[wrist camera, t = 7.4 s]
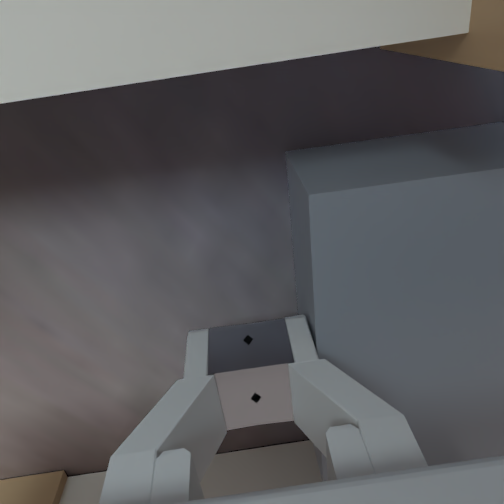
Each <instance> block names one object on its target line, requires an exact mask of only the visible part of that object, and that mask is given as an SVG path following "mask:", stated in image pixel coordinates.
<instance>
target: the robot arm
mask: <svg viewBox="0 0 504 504" xmlns="http://www.w3.org/2000/svg"><path fill="white" fill-rule="evenodd" d="M286 421H294V422H295V424H296V425H297V426H298V427H299V428H300V429H301V430H302V431H303V432H304V434H305V435H306V436H307V437H308V438H309V439H310V440H311V441H312V442H313V444H314V445H315V446H316V447H317V448H318V449H319V450H320V451H321V452H322V454H323V455H324V456H325V457H326V458H327V477H328V481H323V482H316V483H309V484H302V485H295V486H288V487H281V488H275V489H268V490H261V491H254V492H247V493H240V494H233V495H226V496H220V497H213V498H206V499H205V498H204V495H203V492H202V488H201V485H200V482H201V480H202V478H203V476H204V475H205V473H206V471H207V469H208V467H209V465H210V463H211V462H212V460H213V458H214V456H215V454H216V452H217V450H218V448H219V447H220V445H221V443H222V441H223V439H224V437H225V435H226V434H227V430H232V429H237V428H243V427H249V426H255V425H261V424H269V423H278V422H286ZM99 504H504V455H501V456H494V457H487V458H480V459H473V460H466V461H460V462H453V463H446V464H439V465H432V466H428V465H427V462H426V460H425V458H424V456H423V454H422V452H421V450H420V448H419V446H418V443H417V441H416V439H415V437H414V435H413V433H412V431H411V429H410V427H409V425H408V422H407V420H406V418H405V416H404V415H403V414H402V413H400V412H399V411H398V410H396V409H395V408H393V407H392V406H391V405H389V404H388V403H386V402H385V401H384V400H382V399H381V398H379V397H378V396H377V395H375V394H374V393H372V392H371V391H369V390H368V389H367V388H365V387H364V386H362V385H361V384H360V383H358V382H357V381H355V380H354V379H353V378H351V377H350V376H348V375H347V374H346V373H344V372H343V371H341V370H340V369H339V368H337V367H336V366H334V365H333V364H332V363H330V362H329V361H327V360H326V359H319V358H318V355H317V352H316V349H315V345H314V342H313V339H312V335H311V332H310V329H309V326H308V322H307V319H306V316H305V315H304V314H302V315H296V316H290V317H284V318H281V319H275V320H268V321H261V322H255V323H246V324H238V325H230V326H222V327H213V328H209V329H208V328H207V329H199V330H191V331H189V333H188V335H187V345H186V355H185V366H184V377H183V379H180V380H177V381H176V382H175V383H174V384H173V385H172V387H171V388H170V389H169V390H168V391H167V392H166V394H165V395H164V396H163V397H162V398H161V399H160V400H159V402H158V403H157V404H156V405H155V406H154V407H153V408H152V410H151V411H150V412H149V413H148V414H147V415H146V417H145V418H144V419H143V420H142V421H141V422H140V423H139V425H138V426H137V427H136V428H135V429H134V430H133V432H132V433H131V434H130V435H129V436H128V437H127V438H126V440H125V441H124V442H123V443H122V444H121V445H120V446H119V448H118V449H117V450H116V451H115V452H114V453H113V455H112V456H111V457H110V461H109V465H108V469H107V473H106V477H105V481H104V485H103V489H102V493H101V497H100V501H99Z"/></svg>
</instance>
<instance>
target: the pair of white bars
mask: <svg viewBox="0 0 504 504" xmlns="http://www.w3.org/2000/svg"><path fill="white" fill-rule="evenodd" d="M378 46H380V49H384V50H389V51H394V52H400V53H405V54H411V55H416V56H421V57H427V58H432V59H438V60H443V61H449V62H454V63H459V64H465V65H470V66H476V67H481V68H486V69H492V70H497V71H503V72H504V0H0V104H2V103H8V102H15V101H22V100H28V99H35V98H41V97H48V96H55V95H61V94H68V93H74V92H81V91H88V90H94V89H101V88H107V87H114V86H121V85H127V84H134V83H140V82H147V81H153V80H160V79H167V78H173V77H180V76H186V75H193V74H200V73H206V72H213V71H219V70H226V69H233V68H239V67H246V66H252V65H259V64H266V63H272V62H279V61H285V60H292V59H299V58H305V57H312V56H318V55H325V54H332V53H338V52H345V51H351V50H358V49H364V48H371V47H378ZM106 473H107V471H104V472H97V473H91V474H84V475H77V476H71V477H67V475H66V473H65V472H64V470H63V471H56V472H50V473H43V474H37V475H30V476H24V477H17V478H10V479H4V480H0V504H99V501H100V497H101V493H102V489H103V485H104V481H105V477H106ZM316 482H322V479H321V475H320V470H319V466H318V462H317V457H316V453H315V449H314V444H313V442H312V441H311V440H307V441H300V442H294V443H287V444H281V445H274V446H268V447H261V448H255V449H248V450H241V451H235V452H228V453H222V454H215V456H214V458H213V460H212V462H211V463H210V465H209V467H208V469H207V471H206V473H205V475H204V476H203V478H202V480H201V482H200V485H201V488H202V492H203V495H204V498H205V499H206V498H213V497H220V496H226V495H233V494H240V493H247V492H254V491H261V490H268V489H275V488H281V487H288V486H295V485H302V484H309V483H316Z"/></svg>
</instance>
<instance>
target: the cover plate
mask: <svg viewBox="0 0 504 504" xmlns="http://www.w3.org/2000/svg"><path fill="white" fill-rule="evenodd" d="M285 152H286V165H287V178H288V191H289V204H290V217H291V230H292V243H293V256H294V269H295V282H296V295H297V308H298V315H302V314H304V315H305V316H306V319H307V322H308V326H309V329H310V332H311V335H312V339H313V342H314V345H315V349H316V352H317V355H318V358H319V359H326V360H327V361H329V362H330V363H332V364H333V365H334V366H336V367H337V368H339V369H340V370H341V371H343V372H344V373H346V374H347V375H348V376H350V377H351V378H353V379H354V380H355V381H357V382H358V383H360V384H361V385H362V386H364V387H365V388H367V389H368V390H369V391H371V392H372V393H374V394H375V395H377V396H378V397H379V398H381V399H382V400H384V401H385V402H386V403H388V404H389V405H391V406H392V407H393V408H395V409H396V410H398V411H399V412H400V413H402V414H403V415H404V416H405V418H406V420H407V422H408V425H409V427H410V429H411V431H412V433H413V435H414V437H415V439H416V441H417V443H418V446H419V448H420V450H421V452H422V454H423V456H424V458H425V460H426V462H427V465H428V466H432V465H439V464H446V463H453V462H460V461H466V460H473V459H480V458H487V457H494V456H501V455H504V122H498V123H491V124H483V125H476V126H469V127H461V128H454V129H447V130H439V131H432V132H425V133H417V134H410V135H403V136H395V137H388V138H381V139H373V140H366V141H359V142H351V143H344V144H337V145H329V146H322V147H315V148H307V149H300V150H293V151H285ZM314 449H315V453H316V457H317V462H318V466H319V470H320V475H321V479H322V482H323V481H328V477H327V458H326V457H325V456H324V455H323V454H322V452H321V451H320V450H319V449H318V448H317V447H316V446H315V445H314Z"/></svg>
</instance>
